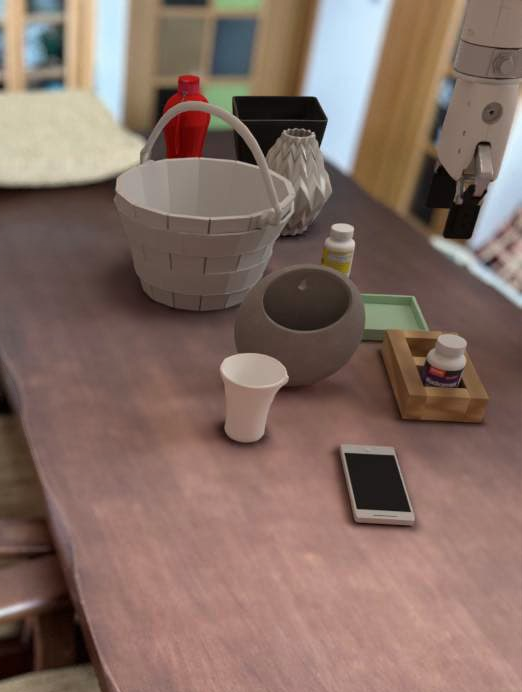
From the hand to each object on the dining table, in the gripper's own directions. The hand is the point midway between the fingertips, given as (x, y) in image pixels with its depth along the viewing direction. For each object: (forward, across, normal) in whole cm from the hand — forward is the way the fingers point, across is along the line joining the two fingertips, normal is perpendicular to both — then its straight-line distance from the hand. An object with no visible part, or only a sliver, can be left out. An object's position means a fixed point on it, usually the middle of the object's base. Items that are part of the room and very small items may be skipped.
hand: (446, 222), depth 99 cm
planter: (+28, +8, +14) cm, 32 cm away
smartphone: (+28, -16, +5) cm, 33 cm away
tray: (+28, +30, -1) cm, 41 cm away
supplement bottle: (+28, +46, +3) cm, 54 cm away
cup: (+28, -5, +21) cm, 36 cm away
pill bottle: (+28, +6, -7) cm, 30 cm away
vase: (+28, +70, +10) cm, 76 cm away
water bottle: (+28, +81, +32) cm, 91 cm away
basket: (+28, +41, +28) cm, 57 cm away
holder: (+28, +10, -7) cm, 31 cm away
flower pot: (+28, +95, +12) cm, 100 cm away
